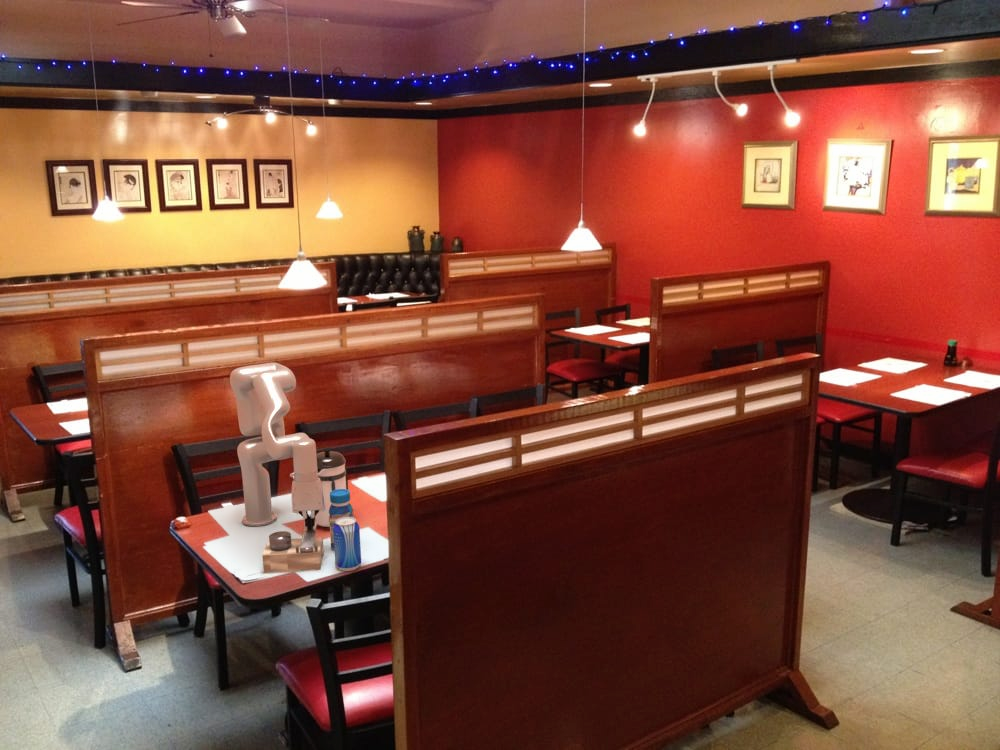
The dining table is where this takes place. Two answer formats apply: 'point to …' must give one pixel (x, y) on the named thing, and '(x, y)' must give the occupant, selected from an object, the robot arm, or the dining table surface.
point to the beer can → (347, 544)
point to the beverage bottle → (339, 508)
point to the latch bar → (308, 539)
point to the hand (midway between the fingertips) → (310, 528)
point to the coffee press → (330, 480)
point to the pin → (280, 541)
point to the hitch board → (293, 557)
